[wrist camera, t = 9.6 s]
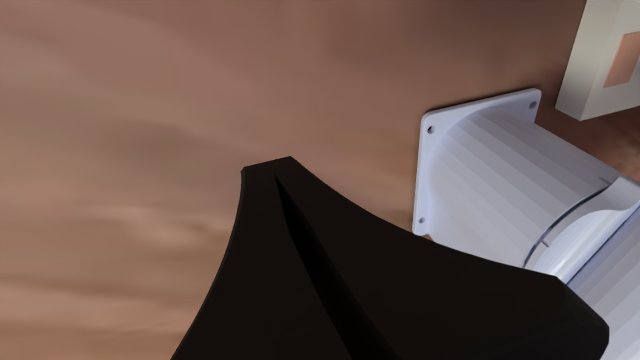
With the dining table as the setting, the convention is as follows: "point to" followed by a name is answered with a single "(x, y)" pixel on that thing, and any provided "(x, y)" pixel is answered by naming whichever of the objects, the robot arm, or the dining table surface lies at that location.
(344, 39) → the dining table surface
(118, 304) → the dining table surface
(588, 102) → the fader panel
